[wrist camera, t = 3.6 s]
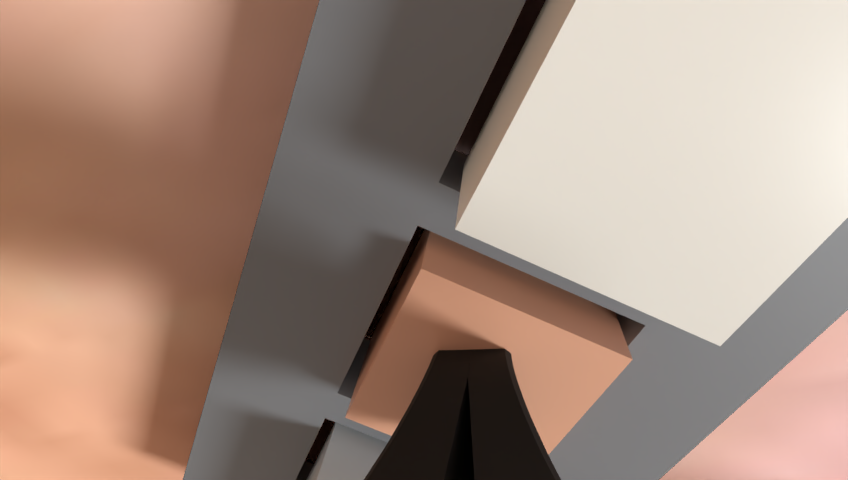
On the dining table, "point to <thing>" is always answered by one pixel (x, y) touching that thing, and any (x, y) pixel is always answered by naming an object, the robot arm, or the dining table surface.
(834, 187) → the cream key
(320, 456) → the grey key
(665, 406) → the key board
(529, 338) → the terracotta key
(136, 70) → the dining table surface
